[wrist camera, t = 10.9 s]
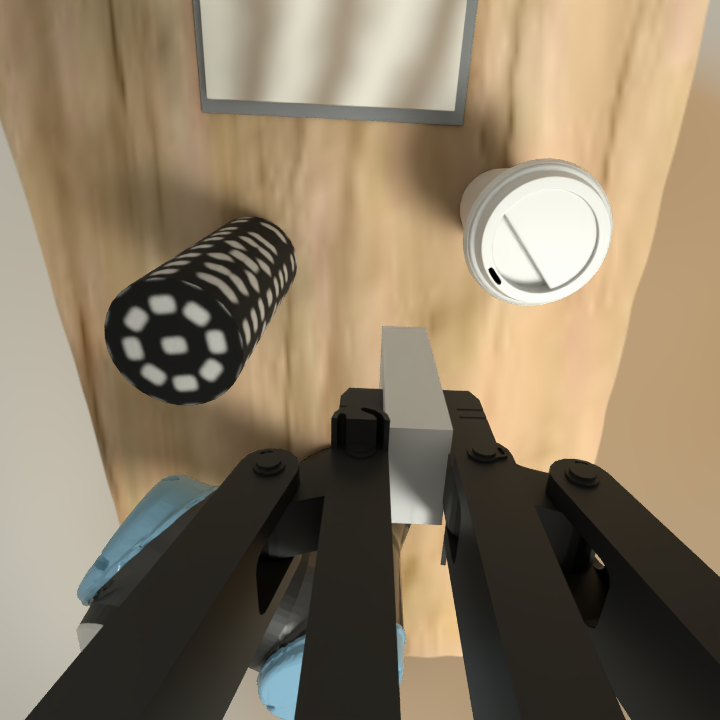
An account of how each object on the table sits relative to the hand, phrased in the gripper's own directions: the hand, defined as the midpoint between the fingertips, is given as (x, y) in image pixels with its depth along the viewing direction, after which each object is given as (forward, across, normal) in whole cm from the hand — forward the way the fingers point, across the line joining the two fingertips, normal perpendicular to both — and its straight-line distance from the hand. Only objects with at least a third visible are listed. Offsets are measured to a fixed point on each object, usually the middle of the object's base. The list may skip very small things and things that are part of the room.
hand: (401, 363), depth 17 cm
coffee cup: (+31, +10, +2) cm, 32 cm away
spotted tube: (+31, -12, -4) cm, 34 cm away
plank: (+30, -5, +14) cm, 33 cm away
